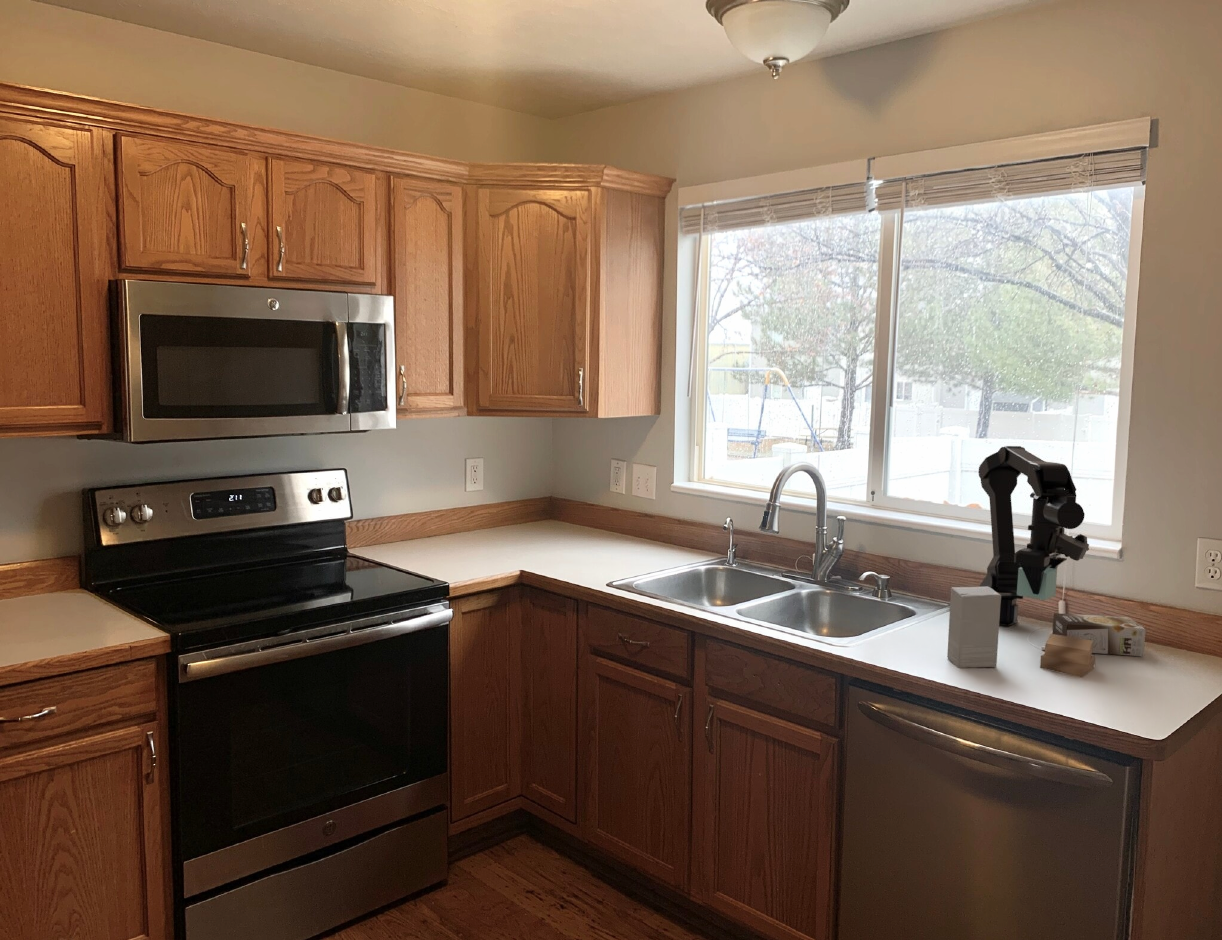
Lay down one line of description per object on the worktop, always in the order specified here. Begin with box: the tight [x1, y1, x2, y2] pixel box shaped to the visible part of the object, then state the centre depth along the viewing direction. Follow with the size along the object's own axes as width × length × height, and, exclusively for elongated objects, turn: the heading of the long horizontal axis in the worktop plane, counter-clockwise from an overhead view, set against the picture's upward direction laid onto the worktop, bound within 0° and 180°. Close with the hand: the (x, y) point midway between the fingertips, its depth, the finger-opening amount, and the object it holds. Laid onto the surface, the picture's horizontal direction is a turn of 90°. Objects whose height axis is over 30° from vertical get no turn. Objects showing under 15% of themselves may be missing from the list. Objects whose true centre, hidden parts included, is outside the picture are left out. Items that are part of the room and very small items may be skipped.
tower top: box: [1043, 633, 1093, 665], centre depth 193 cm, size 8×8×3 cm
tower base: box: [1039, 653, 1096, 678], centre depth 193 cm, size 8×8×3 cm
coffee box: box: [1052, 612, 1146, 657], centre depth 207 cm, size 9×6×16 cm
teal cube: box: [1017, 567, 1058, 601], centre depth 206 cm, size 6×6×6 cm
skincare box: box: [946, 586, 1001, 669], centre depth 194 cm, size 8×7×16 cm
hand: (1041, 591), depth 206 cm, fingers closed on teal cube, 6 cm apart
